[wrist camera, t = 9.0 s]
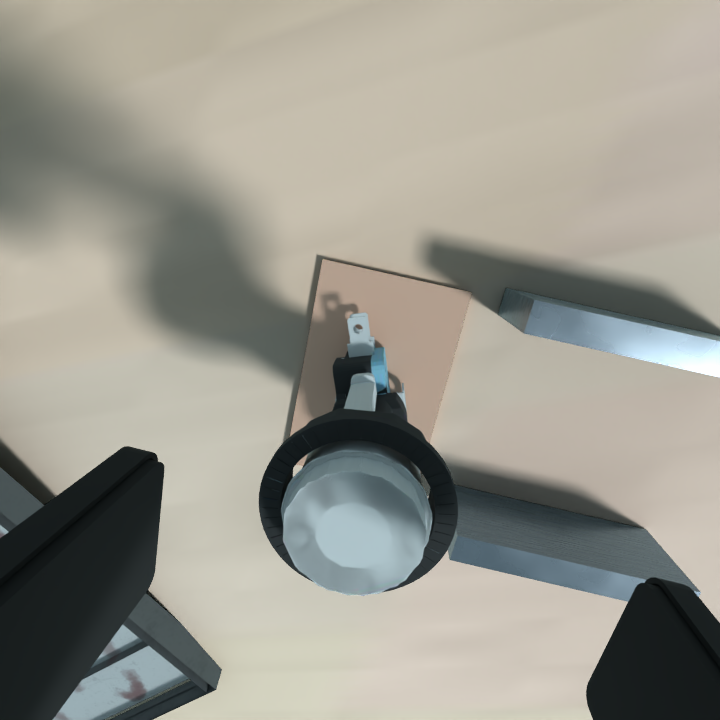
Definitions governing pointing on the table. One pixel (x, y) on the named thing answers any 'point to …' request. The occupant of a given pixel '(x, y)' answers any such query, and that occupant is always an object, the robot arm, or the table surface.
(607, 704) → the robot arm
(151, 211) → the table surface
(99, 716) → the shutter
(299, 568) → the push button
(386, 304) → the mat
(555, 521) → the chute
